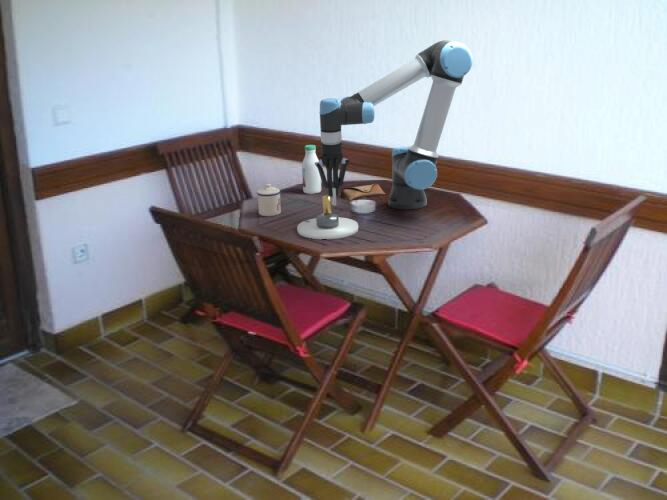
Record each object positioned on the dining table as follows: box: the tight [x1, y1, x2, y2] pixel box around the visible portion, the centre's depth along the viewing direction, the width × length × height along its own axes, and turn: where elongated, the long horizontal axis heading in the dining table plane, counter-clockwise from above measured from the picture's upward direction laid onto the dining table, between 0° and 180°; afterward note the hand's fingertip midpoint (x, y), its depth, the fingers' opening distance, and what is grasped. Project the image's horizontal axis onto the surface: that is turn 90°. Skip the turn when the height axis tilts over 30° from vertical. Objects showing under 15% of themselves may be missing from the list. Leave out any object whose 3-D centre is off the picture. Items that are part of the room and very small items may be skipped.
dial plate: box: [296, 216, 359, 240], centre depth 281 cm, size 22×22×2 cm
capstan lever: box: [315, 194, 339, 228], centre depth 282 cm, size 14×8×8 cm, turn 1°
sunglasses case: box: [340, 183, 386, 201], centre depth 324 cm, size 18×7×7 cm, turn 116°
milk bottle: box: [301, 144, 322, 195], centre depth 329 cm, size 8×8×20 cm
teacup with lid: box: [256, 183, 282, 217], centre depth 304 cm, size 12×9×12 cm
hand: (333, 204), depth 290 cm, fingers closed
